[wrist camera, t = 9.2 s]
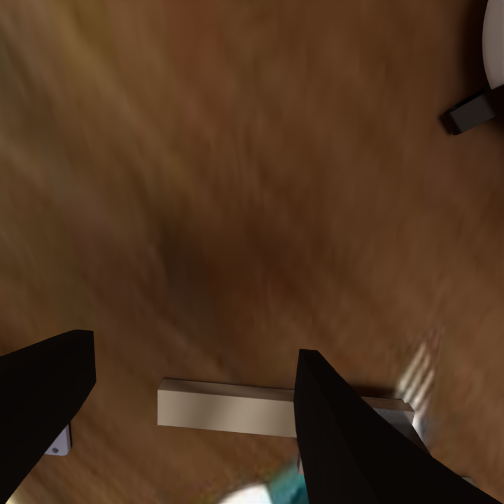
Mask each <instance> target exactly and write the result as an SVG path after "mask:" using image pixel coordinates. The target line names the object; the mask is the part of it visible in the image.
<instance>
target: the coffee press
mask: <svg viewBox="0 0 504 504" xmlns="http://www.w3.org/2000/svg"><path fill="white" fill-rule="evenodd" d="M482 51H483V61H484V67H485V72H486V76H487V79H488V82H489V84H488V85H486V86H485V87H483V88H482V89H480V90H479V91H477V92H476V93H474V94H472V95H471V96H469V97H467V98H466V99H464V100H463V101H461V102H459V103H458V104H456V105H455V106H453V107H452V108H450V109H449V110H447V111H446V112H445V113H444V114H443V115H442V118H443V119H444V121H445V123H446V124H447V126H448V128H449V129H450V131H451V132H452V134H453V135H458V134H460V133H463V132H465V131H467V130H469V129H471V128H473V127H475V126H477V125H479V124H481V123H483V122H485V121H487V120H489V119H491V118H493V117H495V116H497V115H500V114H502V113H504V0H488V3H487V7H486V12H485V17H484V24H483V35H482Z"/></svg>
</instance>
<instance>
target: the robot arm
mask: <svg viewBox="0 0 504 504" xmlns="http://www.w3.org/2000/svg"><path fill="white" fill-rule="evenodd" d="M95 383H96V369H95V352H94V335H93V331H88V330H77V329H76V330H72V331H69V332H65V333H63V334H60V335H57V336H54V337H51V338H49V339H46V340H43V341H41V342H38V343H36V344H33V345H30V346H28V347H25V348H23V349H20V350H17V351H15V352H12V353H10V354H7V355H4V356H2V357H0V504H6V502H7V501H8V499H9V498H10V497H11V495H12V494H13V493H14V491H15V490H16V489H17V487H18V486H19V485H20V483H21V482H22V481H23V479H24V478H25V477H26V476H27V475H28V473H29V472H30V471H31V470H32V468H33V467H34V466H35V465H36V463H37V462H38V461H39V460H40V458H41V457H42V456H43V455H44V454H50V455H60V456H64V455H67V453H68V452H69V451H70V448H71V447H70V436H69V425H68V423H69V422H70V421H71V420H72V418H73V417H74V416H75V415H76V413H77V412H78V411H79V409H80V408H81V406H82V405H83V403H84V401H85V400H86V398H87V397H88V395H89V393H90V392H91V390H92V388H93V387H94V385H95ZM293 404H294V417H295V429H296V435H297V441H298V446H299V452H300V457H301V462H302V467H303V473H304V478H305V483H306V488H307V493H308V499H309V504H502V503H501V502H499V501H497V500H496V499H494V498H493V497H491V496H489V495H488V494H486V493H485V492H483V491H481V490H480V489H478V488H477V487H475V486H474V485H472V484H471V483H469V482H468V481H466V480H465V479H463V478H462V477H460V476H459V475H457V474H456V473H454V472H453V471H451V470H450V469H449V468H447V467H446V466H444V465H443V464H442V463H440V462H439V461H437V460H436V459H435V458H433V457H432V456H430V455H429V454H428V453H426V452H425V451H424V450H422V449H421V448H420V447H418V446H417V445H416V444H414V443H413V442H412V441H410V440H409V439H408V438H407V437H406V436H404V435H403V434H402V433H401V432H399V431H398V430H397V429H396V428H395V427H393V426H392V425H391V424H390V423H388V422H387V421H386V420H385V419H384V418H383V417H382V416H380V415H379V414H378V413H377V412H376V411H375V410H374V409H373V408H372V407H371V406H370V405H369V404H368V403H366V402H365V401H364V400H363V399H362V398H361V397H360V396H359V395H358V394H357V393H356V392H355V391H354V390H353V389H352V388H351V387H350V386H349V385H348V384H347V382H346V381H345V380H344V379H343V378H342V377H341V376H340V375H339V374H338V373H337V372H336V371H335V369H334V368H333V367H332V366H331V365H330V364H329V363H328V362H327V360H326V359H325V358H324V357H323V356H322V355H321V354H320V353H319V352H318V351H317V350H307V349H300V350H299V358H298V366H297V374H296V382H295V390H294V398H293Z"/></svg>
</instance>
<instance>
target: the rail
mask: <svg viewBox="0 0 504 504" xmlns="http://www.w3.org/2000/svg"><path fill="white" fill-rule="evenodd" d="M360 397H361V398H362V399H369V400H381V401H392V402H403V403H405V402H404V401H403V400H396V399H385V398H374V397H363V396H360ZM293 398H294V390H284V389H273V388H262V387H251V386H240V385H228V384H217V383H206V382H195V381H184V380H173V379H163V380H162V382H161V384H160V386H159V388H158V425H167V426H177V427H188V428H199V429H210V430H220V431H231V432H242V433H253V434H264V435H274V436H285V437H296V438H297V435H296V429H295V417H294V404H293Z"/></svg>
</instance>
